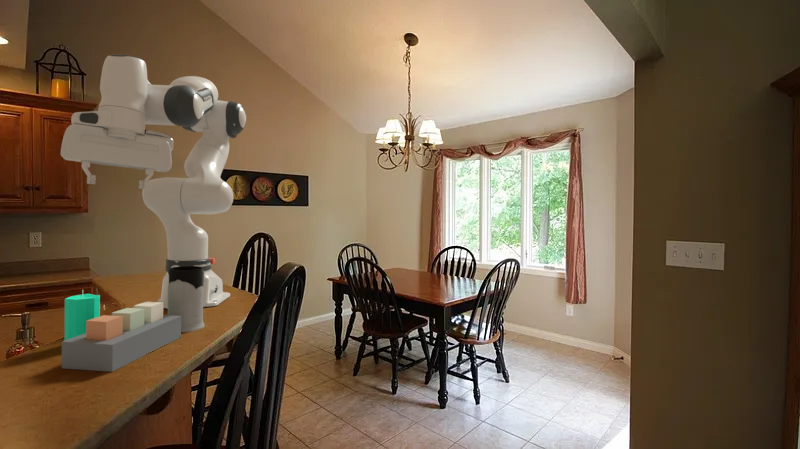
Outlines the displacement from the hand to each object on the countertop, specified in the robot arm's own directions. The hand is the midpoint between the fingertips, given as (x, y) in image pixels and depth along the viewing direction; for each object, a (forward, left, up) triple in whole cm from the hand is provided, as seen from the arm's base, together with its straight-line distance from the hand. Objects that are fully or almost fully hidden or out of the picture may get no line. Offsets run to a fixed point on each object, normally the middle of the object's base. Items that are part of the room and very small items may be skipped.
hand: (117, 186), depth 89 cm
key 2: (0, +8, -32) cm, 33 cm away
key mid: (+6, +8, -32) cm, 34 cm away
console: (+6, +8, -35) cm, 36 cm away
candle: (+4, -4, -35) cm, 35 cm away
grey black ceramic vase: (-14, +9, -35) cm, 38 cm away
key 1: (+12, +8, -32) cm, 35 cm away
